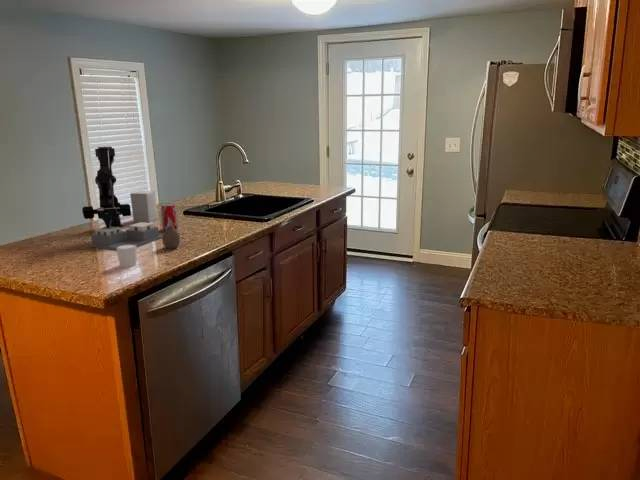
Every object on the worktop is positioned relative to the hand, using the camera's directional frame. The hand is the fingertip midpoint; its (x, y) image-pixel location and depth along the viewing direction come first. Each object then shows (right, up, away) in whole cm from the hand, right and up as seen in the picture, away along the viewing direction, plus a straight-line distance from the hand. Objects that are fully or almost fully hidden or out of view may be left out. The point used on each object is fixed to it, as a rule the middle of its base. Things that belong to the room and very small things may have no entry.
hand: (108, 227), depth 206 cm
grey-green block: (0, -6, +1) cm, 6 cm away
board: (+6, -6, +5) cm, 10 cm away
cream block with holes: (+12, -4, +8) cm, 15 cm away
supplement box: (0, +5, +46) cm, 46 cm away
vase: (+28, -8, -4) cm, 29 cm away
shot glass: (+19, -14, -26) cm, 35 cm away
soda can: (+18, 0, +27) cm, 33 cm away
